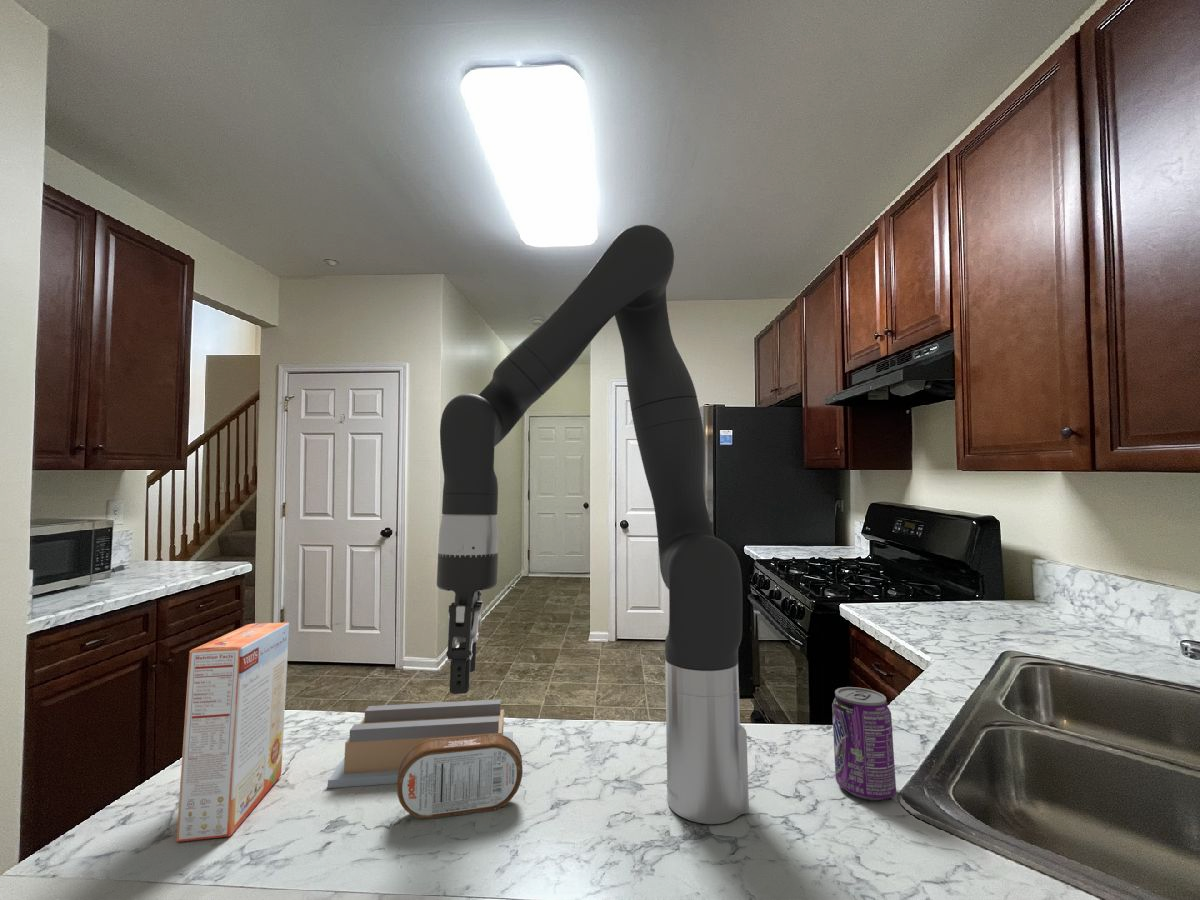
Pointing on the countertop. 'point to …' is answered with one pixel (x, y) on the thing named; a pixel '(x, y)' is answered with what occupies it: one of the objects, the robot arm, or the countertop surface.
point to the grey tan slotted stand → (408, 736)
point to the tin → (459, 775)
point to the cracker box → (232, 728)
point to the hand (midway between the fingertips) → (463, 681)
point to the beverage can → (863, 743)
